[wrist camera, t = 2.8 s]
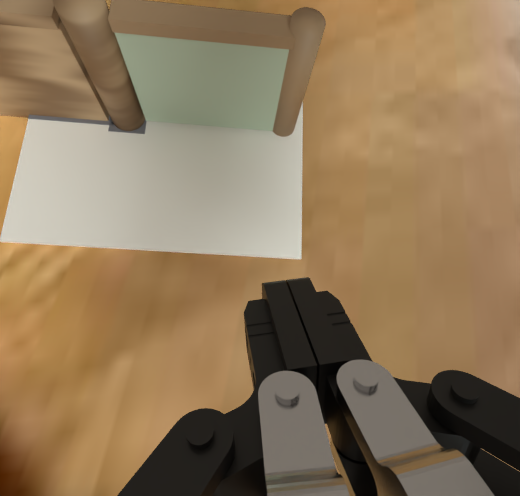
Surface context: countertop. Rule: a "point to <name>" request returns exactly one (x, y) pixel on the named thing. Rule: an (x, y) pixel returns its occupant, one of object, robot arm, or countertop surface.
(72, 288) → the countertop surface
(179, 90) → the swing panel
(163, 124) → the card
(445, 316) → the countertop surface
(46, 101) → the fixed fence
